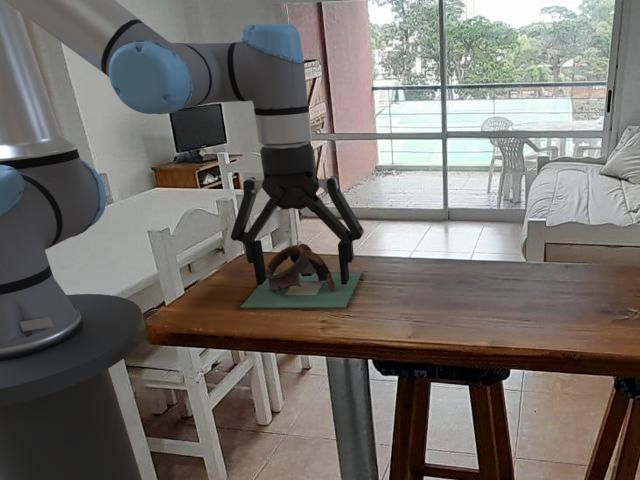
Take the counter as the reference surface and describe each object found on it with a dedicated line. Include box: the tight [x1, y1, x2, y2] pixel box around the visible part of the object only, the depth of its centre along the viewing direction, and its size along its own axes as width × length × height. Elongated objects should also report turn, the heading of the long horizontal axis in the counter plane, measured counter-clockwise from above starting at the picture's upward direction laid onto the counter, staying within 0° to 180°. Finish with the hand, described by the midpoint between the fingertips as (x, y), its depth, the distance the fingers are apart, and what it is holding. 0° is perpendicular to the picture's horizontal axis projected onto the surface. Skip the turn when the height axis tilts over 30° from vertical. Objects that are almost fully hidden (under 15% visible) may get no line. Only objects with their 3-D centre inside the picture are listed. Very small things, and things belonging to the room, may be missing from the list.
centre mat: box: [240, 272, 362, 310], centre depth 92 cm, size 16×14×1 cm
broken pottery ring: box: [265, 243, 334, 293], centre depth 91 cm, size 12×9×8 cm
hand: (303, 281), depth 91 cm, fingers open, 13 cm apart
